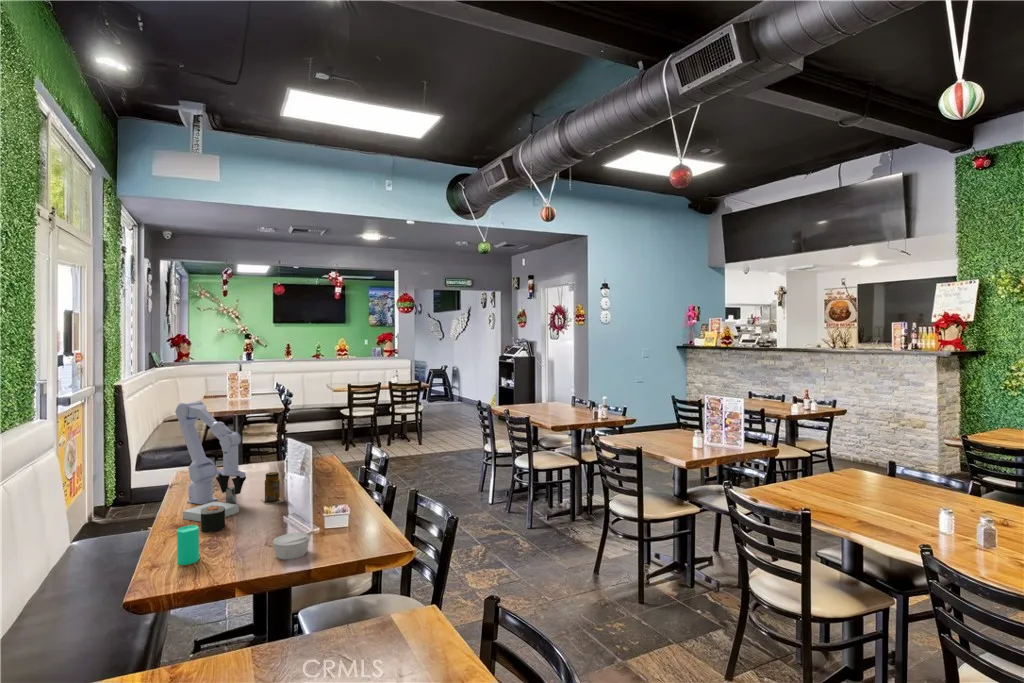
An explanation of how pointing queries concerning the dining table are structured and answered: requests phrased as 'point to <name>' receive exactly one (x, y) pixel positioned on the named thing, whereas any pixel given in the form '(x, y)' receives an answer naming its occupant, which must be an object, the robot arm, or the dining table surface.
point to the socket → (195, 512)
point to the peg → (230, 495)
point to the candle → (187, 545)
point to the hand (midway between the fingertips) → (231, 493)
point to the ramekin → (291, 545)
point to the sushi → (212, 519)
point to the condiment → (272, 488)
